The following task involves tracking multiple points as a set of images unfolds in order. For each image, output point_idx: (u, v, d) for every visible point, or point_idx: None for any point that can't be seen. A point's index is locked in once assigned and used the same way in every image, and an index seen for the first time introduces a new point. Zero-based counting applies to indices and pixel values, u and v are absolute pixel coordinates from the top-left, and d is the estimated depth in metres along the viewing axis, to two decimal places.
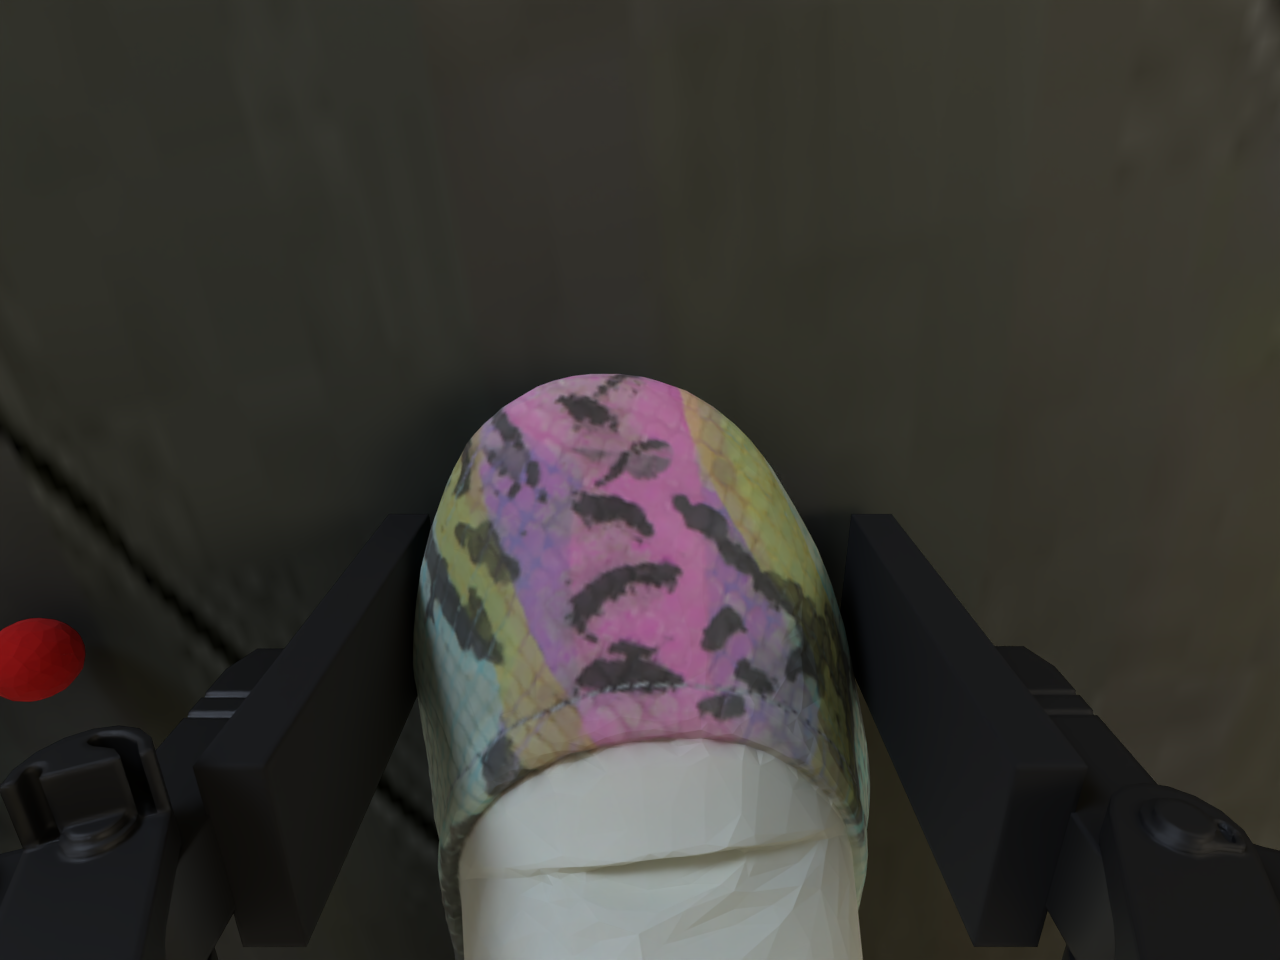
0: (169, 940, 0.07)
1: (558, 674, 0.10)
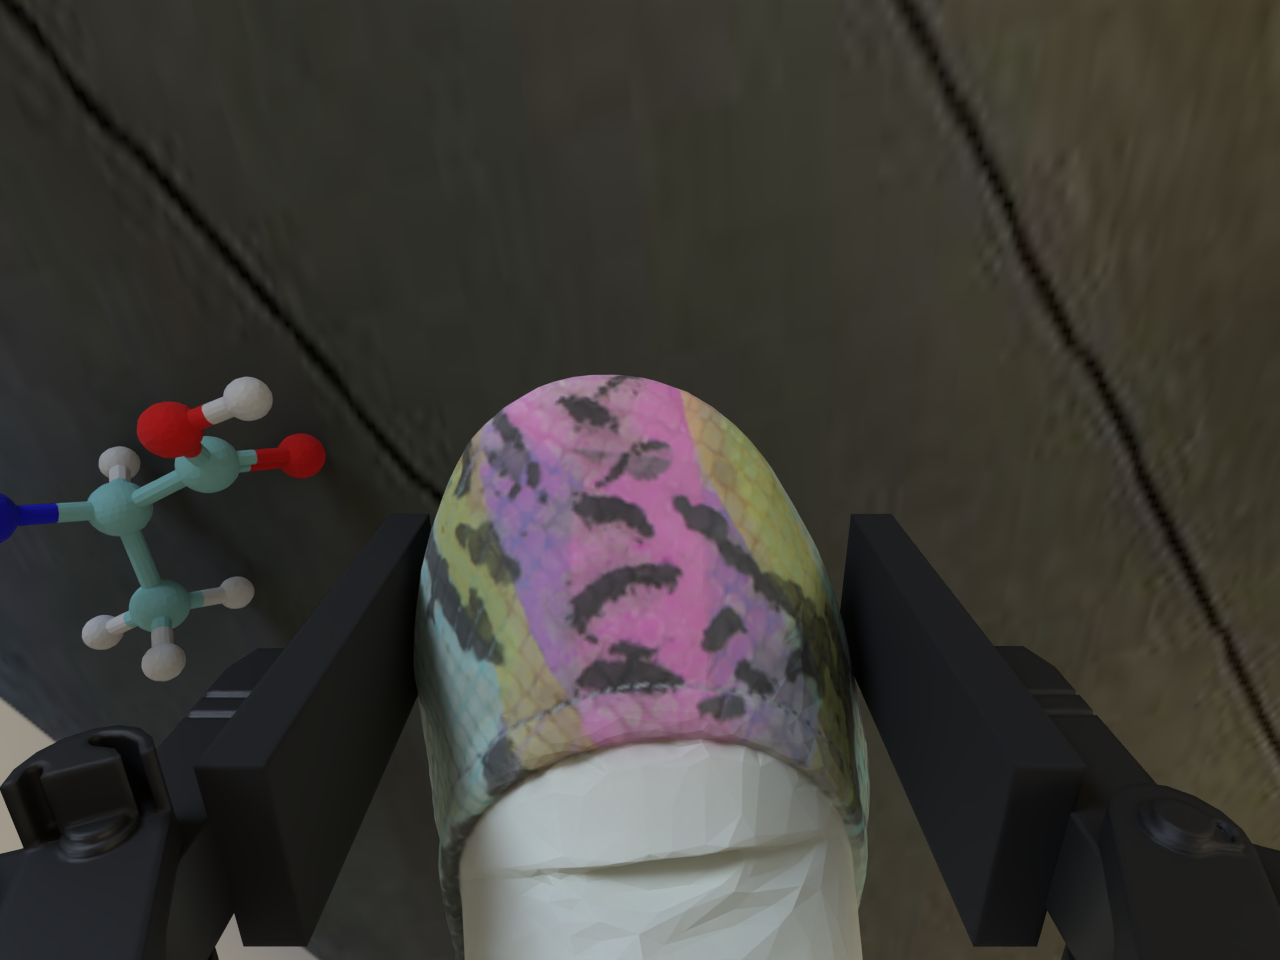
0: (170, 940, 0.07)
1: (558, 674, 0.10)
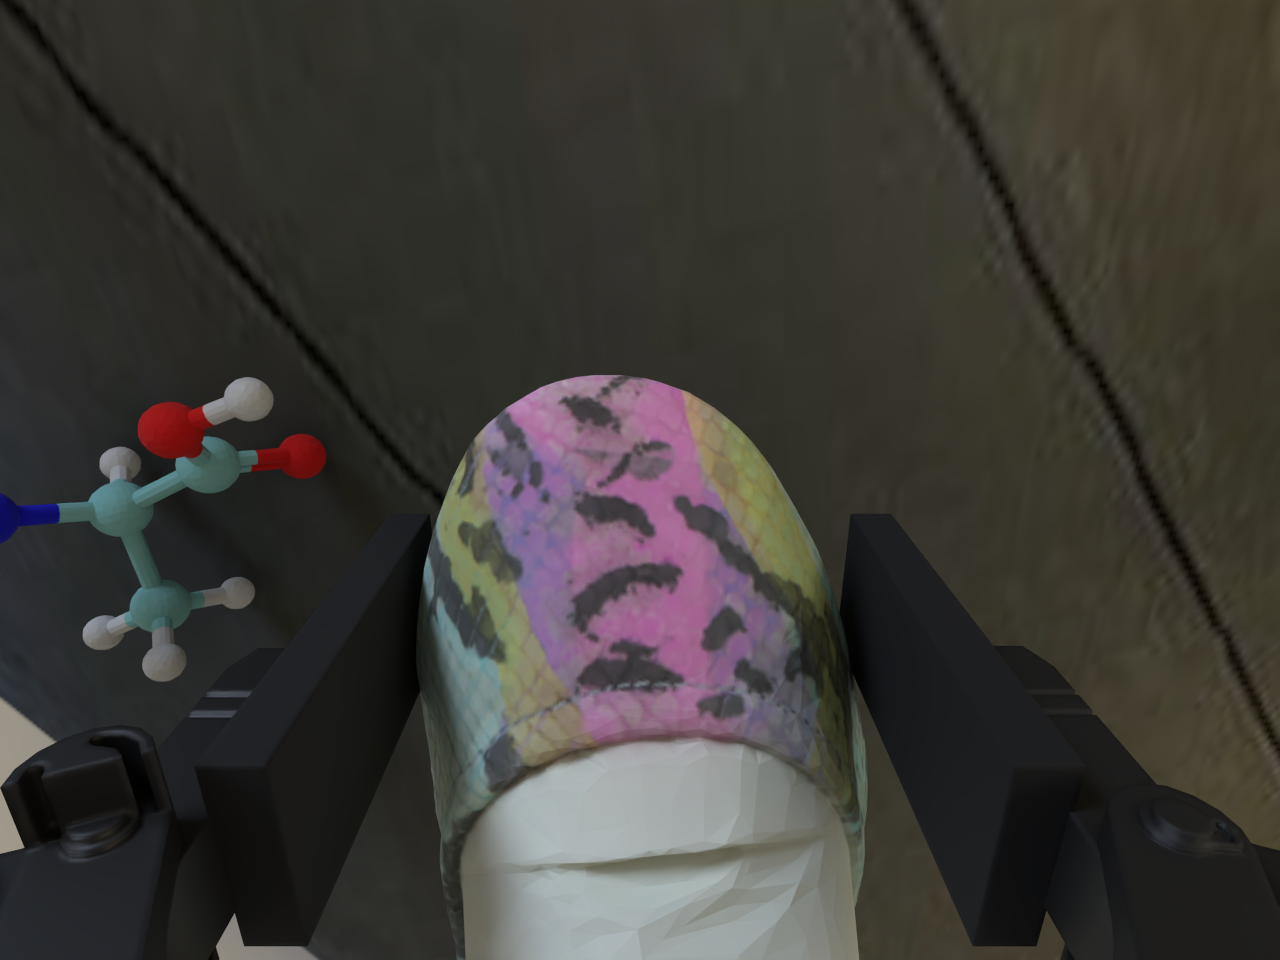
0: (170, 940, 0.07)
1: (560, 672, 0.10)
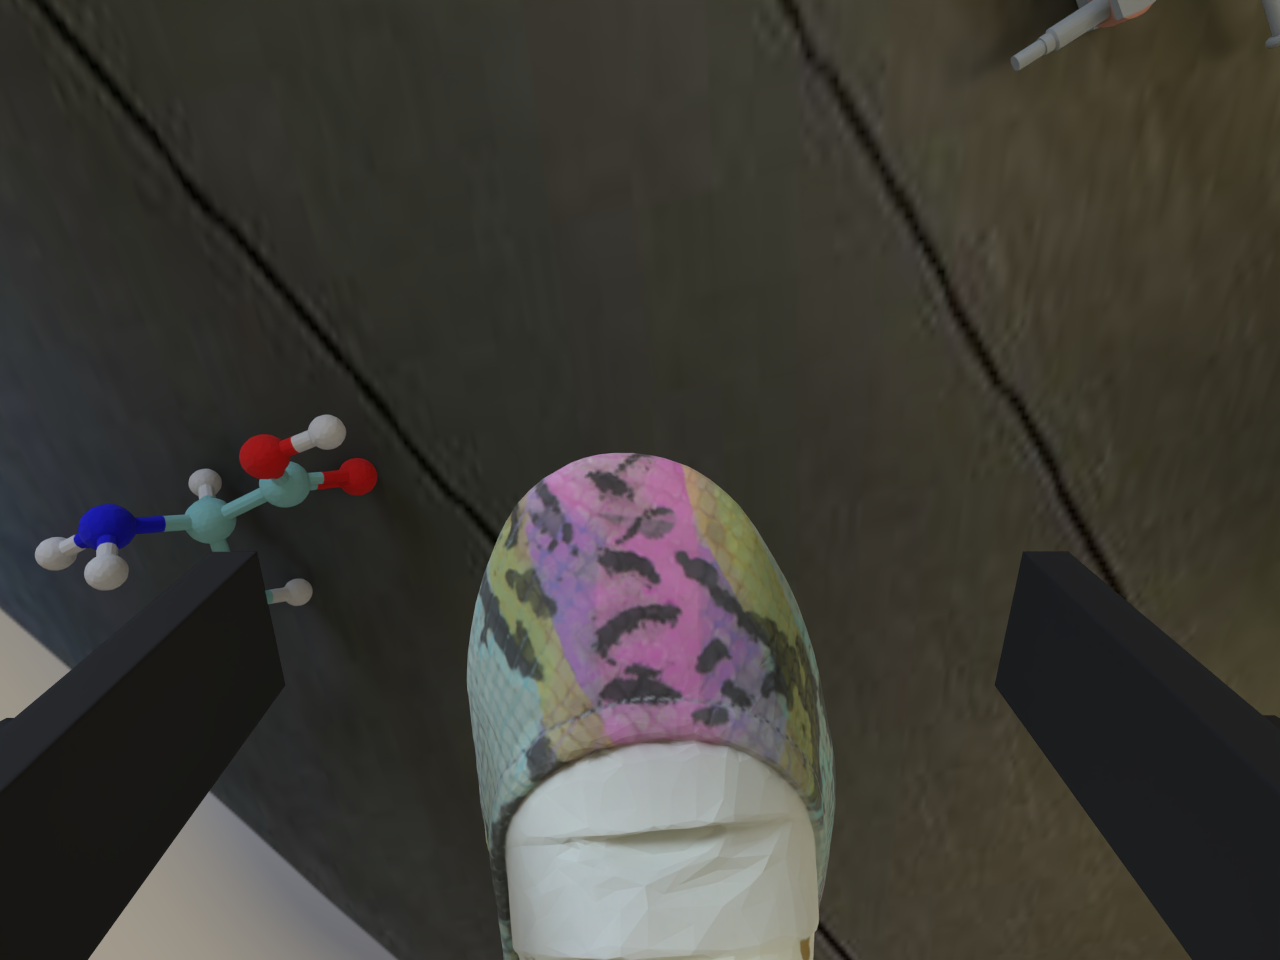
0: None
1: (586, 689, 0.13)
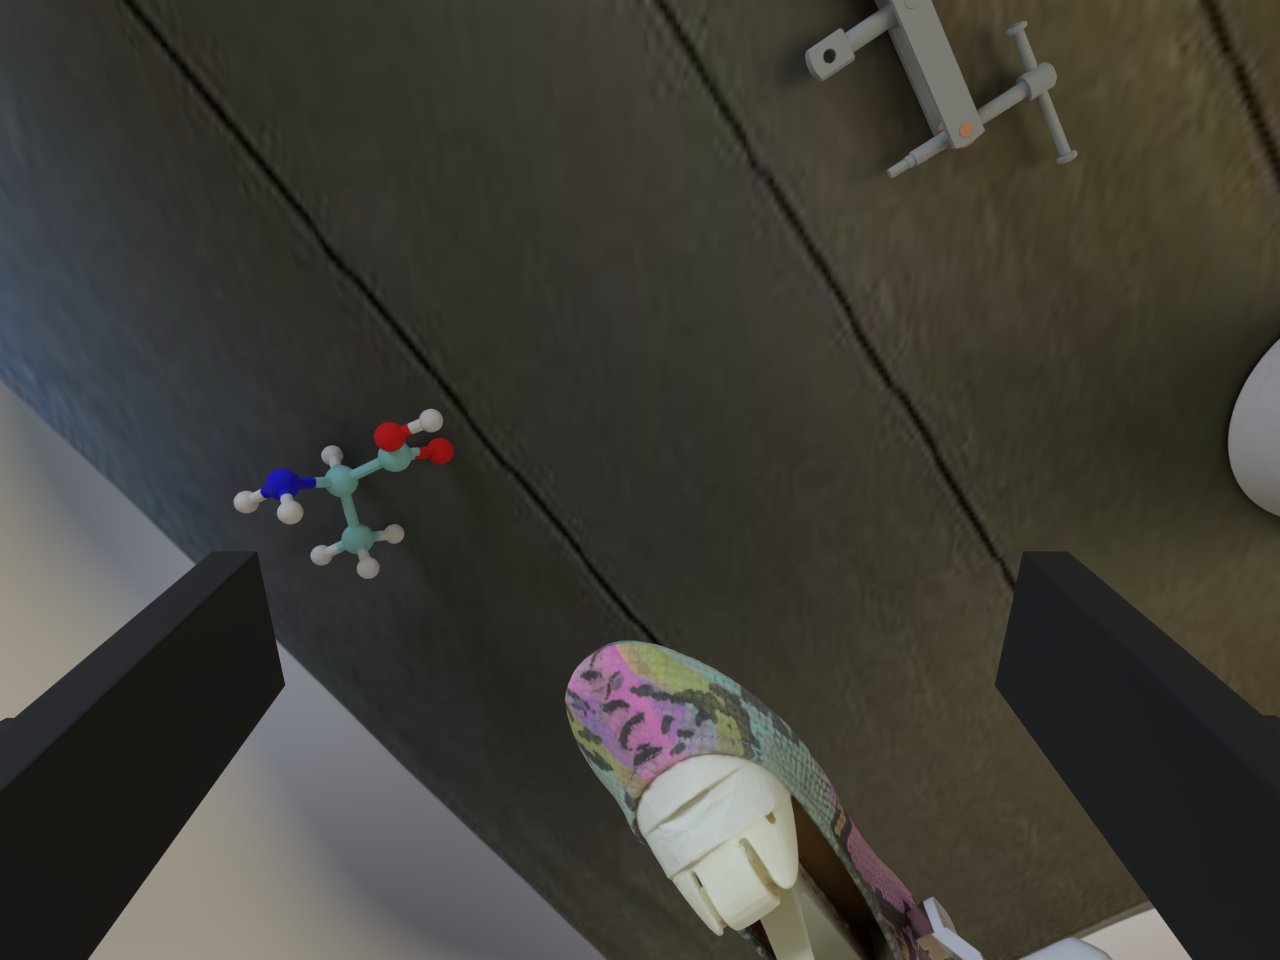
0: None
1: (628, 765, 0.30)
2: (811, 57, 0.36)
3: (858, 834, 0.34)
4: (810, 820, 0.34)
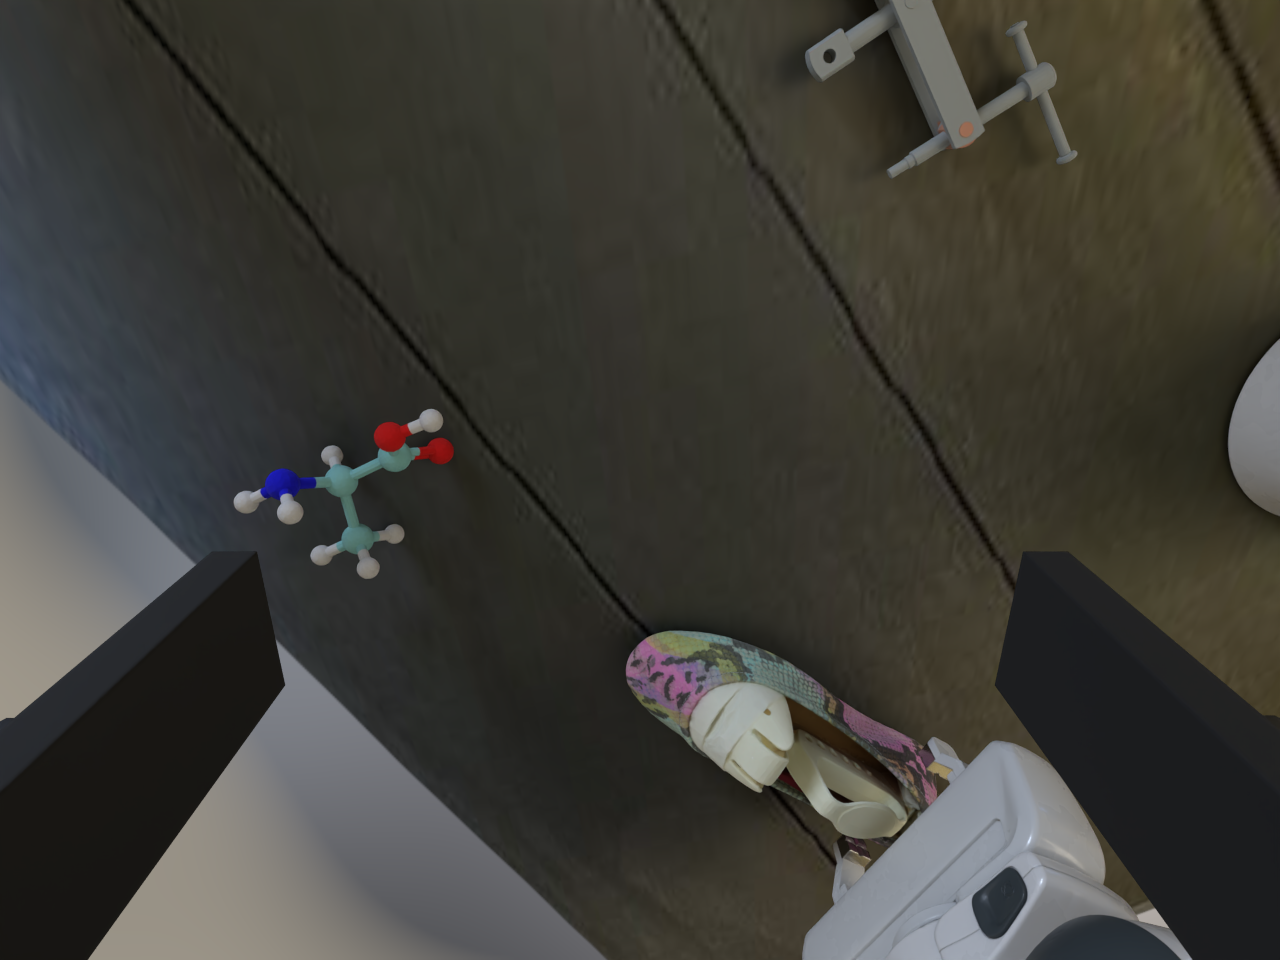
0: None
1: (675, 709, 0.47)
2: (811, 57, 0.36)
3: (852, 710, 0.50)
4: None
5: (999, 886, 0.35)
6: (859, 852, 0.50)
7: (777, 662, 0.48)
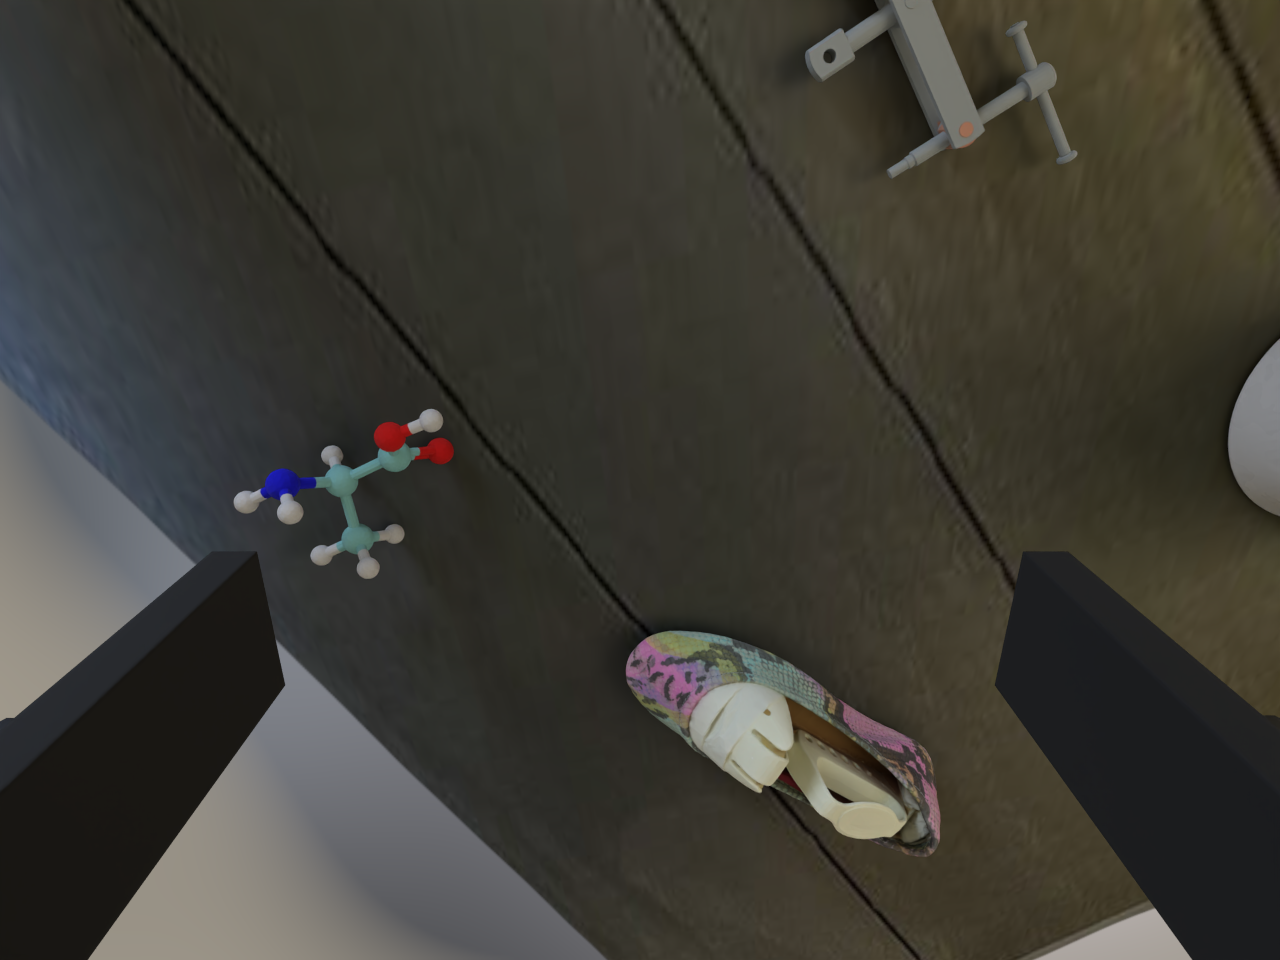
0: None
1: (675, 710, 0.47)
2: (811, 57, 0.36)
3: (852, 710, 0.50)
4: None
5: None
6: None
7: (777, 662, 0.48)
